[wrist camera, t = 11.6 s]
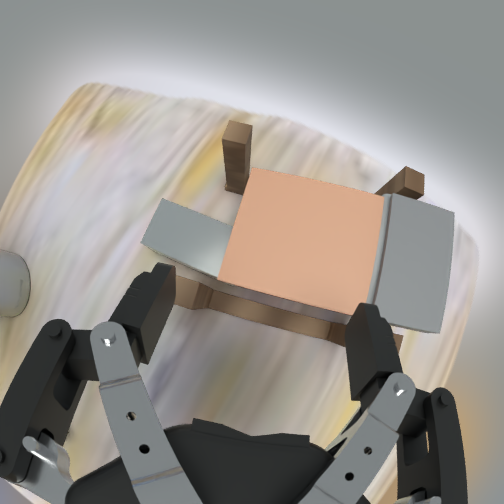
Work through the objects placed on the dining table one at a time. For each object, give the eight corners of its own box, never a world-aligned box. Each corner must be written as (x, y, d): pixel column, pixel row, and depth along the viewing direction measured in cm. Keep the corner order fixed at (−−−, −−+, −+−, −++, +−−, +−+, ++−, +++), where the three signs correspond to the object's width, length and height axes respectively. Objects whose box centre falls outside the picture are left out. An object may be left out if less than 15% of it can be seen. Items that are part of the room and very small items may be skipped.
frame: (189, 301, 31) (154, 299, 18) (230, 175, 34) (225, 108, 21) (343, 343, 31) (401, 362, 18) (370, 218, 33) (428, 176, 21)
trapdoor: (222, 285, 24) (211, 281, 21) (256, 174, 26) (251, 158, 23) (423, 335, 20) (438, 337, 17) (440, 220, 22) (454, 209, 19)
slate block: (234, 287, 31) (154, 251, 32) (251, 245, 32) (173, 213, 33) (232, 283, 27) (140, 242, 27) (253, 235, 27) (162, 198, 28)
